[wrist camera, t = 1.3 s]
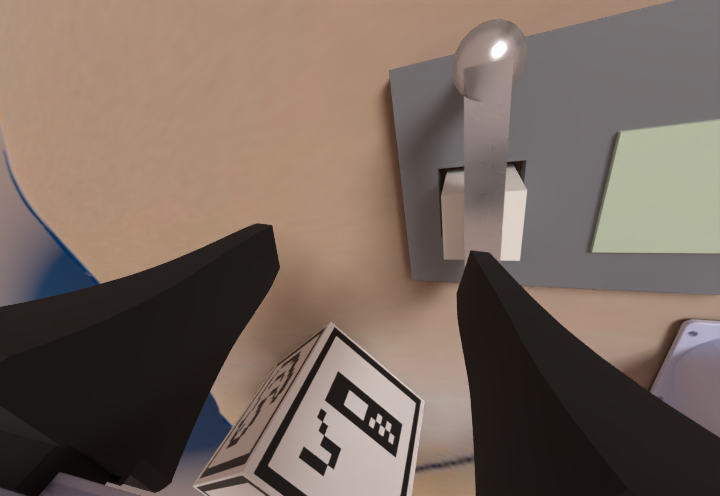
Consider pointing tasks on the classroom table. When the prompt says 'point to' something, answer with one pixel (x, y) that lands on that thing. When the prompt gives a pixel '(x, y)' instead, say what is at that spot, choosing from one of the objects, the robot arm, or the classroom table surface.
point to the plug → (455, 215)
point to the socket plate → (588, 153)
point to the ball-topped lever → (487, 126)
